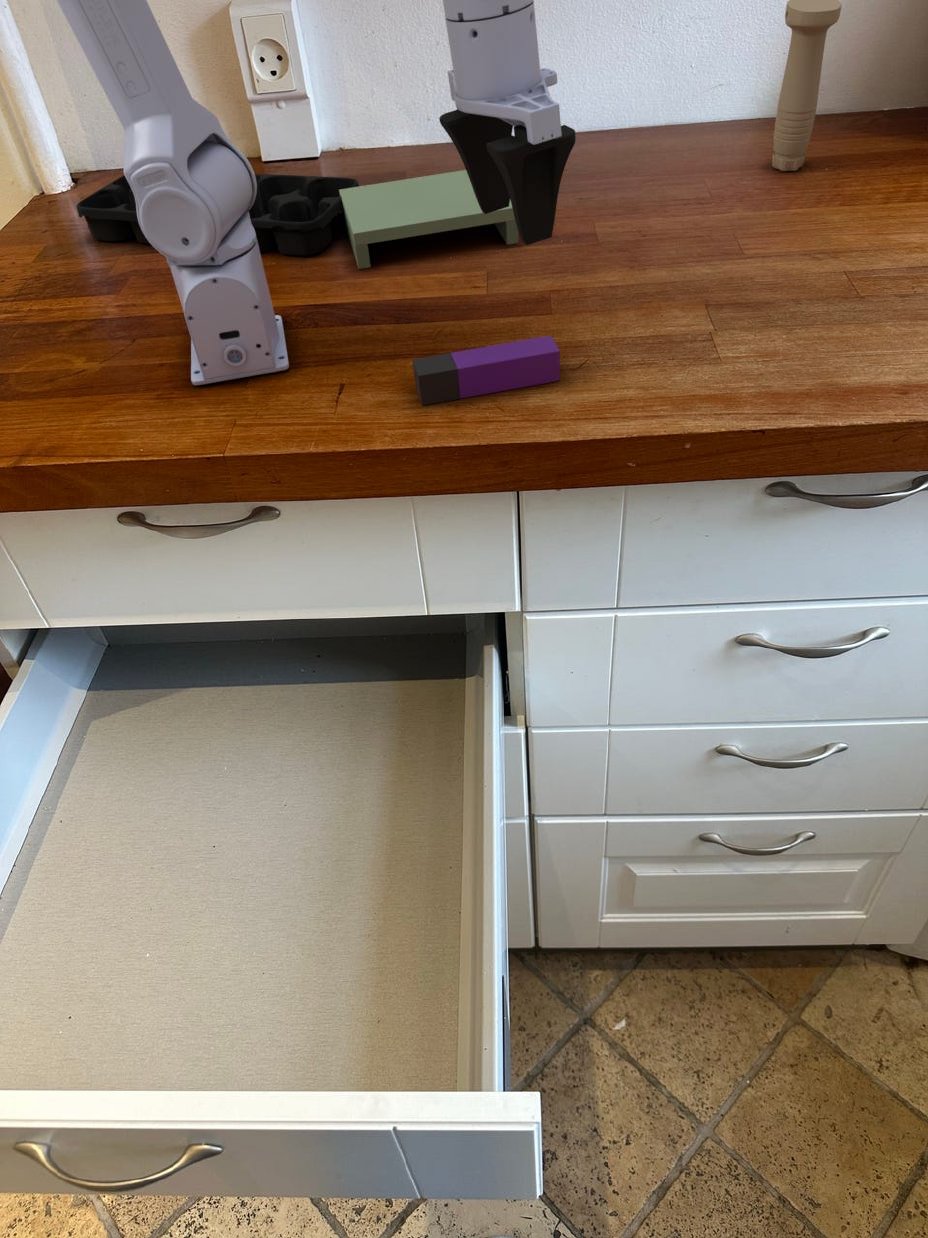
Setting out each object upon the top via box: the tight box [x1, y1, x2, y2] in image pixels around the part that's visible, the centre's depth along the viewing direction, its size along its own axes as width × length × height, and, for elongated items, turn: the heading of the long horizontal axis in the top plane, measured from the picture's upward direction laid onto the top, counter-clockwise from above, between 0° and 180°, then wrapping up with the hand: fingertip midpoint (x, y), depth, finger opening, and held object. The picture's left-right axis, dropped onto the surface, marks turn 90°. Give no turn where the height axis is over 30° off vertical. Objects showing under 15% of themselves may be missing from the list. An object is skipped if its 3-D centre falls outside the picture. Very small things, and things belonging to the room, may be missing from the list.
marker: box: [412, 335, 561, 407], centre depth 71 cm, size 3×11×3 cm, turn 102°
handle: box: [771, 0, 843, 172], centre depth 94 cm, size 5×6×15 cm
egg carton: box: [76, 173, 360, 257], centre depth 97 cm, size 18×30×4 cm, turn 83°
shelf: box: [339, 169, 520, 270], centre depth 92 cm, size 12×16×4 cm
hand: (515, 223), depth 68 cm, fingers open, 7 cm apart
